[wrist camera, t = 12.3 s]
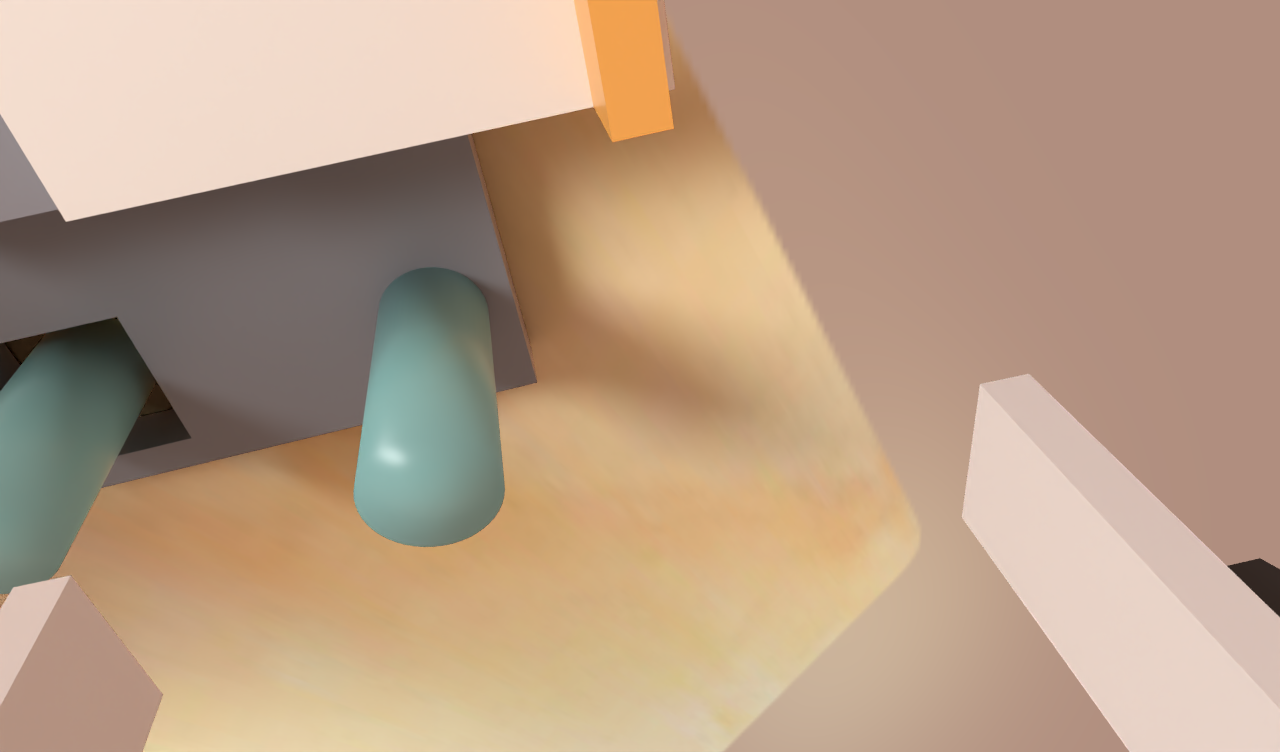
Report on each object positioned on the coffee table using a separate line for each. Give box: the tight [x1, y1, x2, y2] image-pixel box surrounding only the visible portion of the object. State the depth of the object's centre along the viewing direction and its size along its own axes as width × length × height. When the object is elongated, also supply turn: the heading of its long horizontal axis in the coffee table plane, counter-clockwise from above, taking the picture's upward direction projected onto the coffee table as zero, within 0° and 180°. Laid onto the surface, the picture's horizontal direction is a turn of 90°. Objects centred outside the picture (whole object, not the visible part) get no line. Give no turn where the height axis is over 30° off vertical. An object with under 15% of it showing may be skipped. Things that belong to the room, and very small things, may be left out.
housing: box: [0, 115, 537, 547], centre depth 24 cm, size 20×18×12 cm
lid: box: [0, 0, 675, 222], centre depth 19 cm, size 16×5×4 cm, turn 99°
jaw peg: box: [0, 318, 157, 594], centre depth 27 cm, size 4×4×10 cm
